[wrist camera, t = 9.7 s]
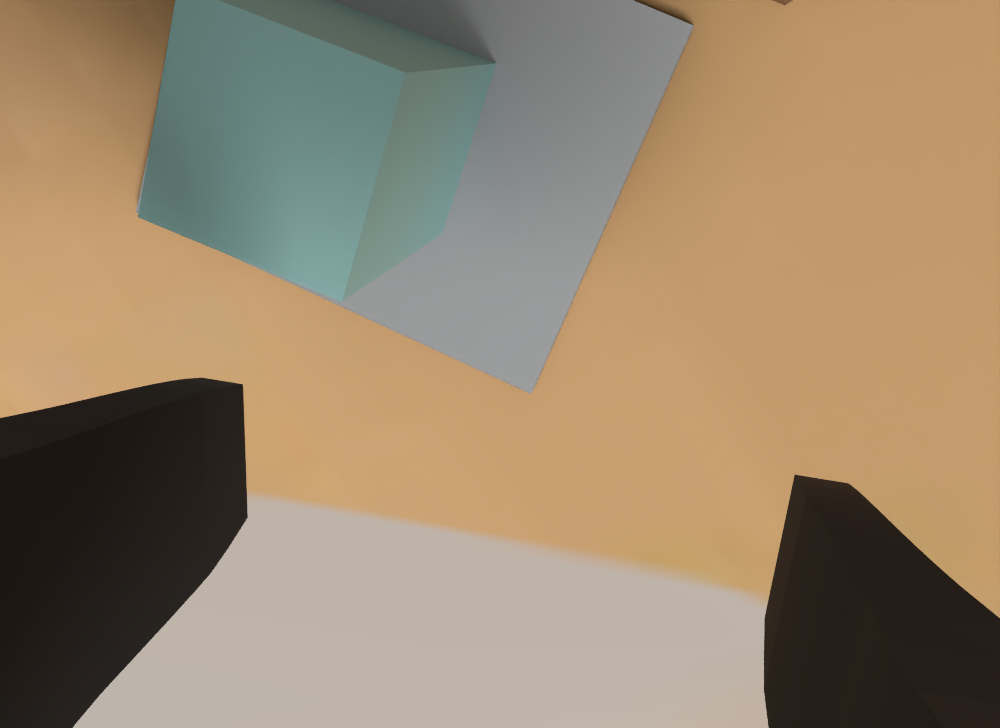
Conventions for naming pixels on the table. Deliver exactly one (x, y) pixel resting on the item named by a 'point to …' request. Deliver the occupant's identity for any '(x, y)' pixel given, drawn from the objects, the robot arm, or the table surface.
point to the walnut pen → (783, 1)
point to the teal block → (309, 137)
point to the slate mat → (525, 172)
